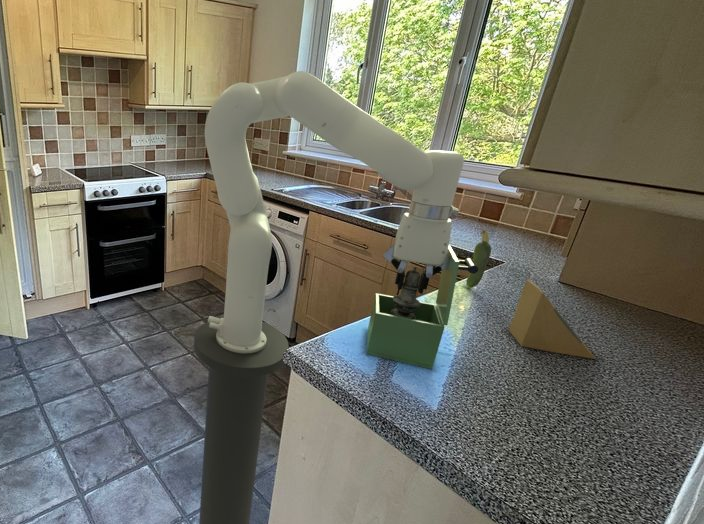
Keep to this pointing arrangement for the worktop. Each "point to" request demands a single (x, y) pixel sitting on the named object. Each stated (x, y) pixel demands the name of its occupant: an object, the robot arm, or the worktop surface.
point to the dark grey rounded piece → (407, 296)
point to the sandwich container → (544, 325)
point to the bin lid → (451, 283)
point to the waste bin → (404, 333)
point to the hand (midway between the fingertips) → (409, 288)
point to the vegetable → (480, 260)
